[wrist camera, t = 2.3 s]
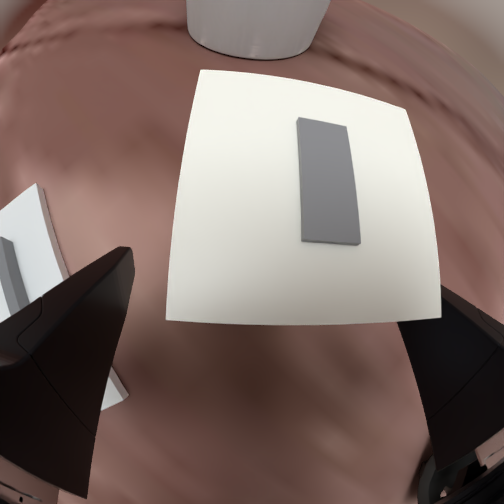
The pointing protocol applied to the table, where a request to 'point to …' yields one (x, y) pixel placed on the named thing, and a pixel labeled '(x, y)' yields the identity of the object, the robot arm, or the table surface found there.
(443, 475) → the muzzle brake
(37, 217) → the dock plate
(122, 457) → the table surface
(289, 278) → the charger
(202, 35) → the utensil holder
